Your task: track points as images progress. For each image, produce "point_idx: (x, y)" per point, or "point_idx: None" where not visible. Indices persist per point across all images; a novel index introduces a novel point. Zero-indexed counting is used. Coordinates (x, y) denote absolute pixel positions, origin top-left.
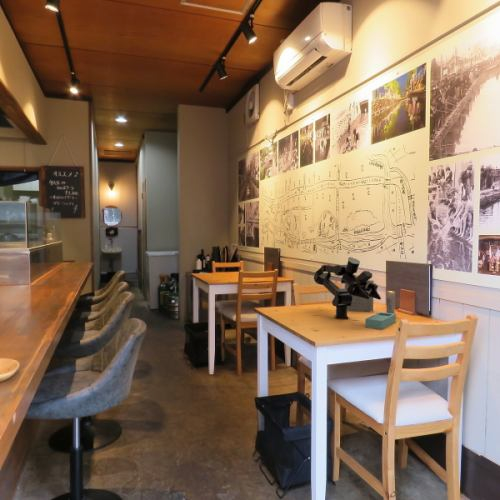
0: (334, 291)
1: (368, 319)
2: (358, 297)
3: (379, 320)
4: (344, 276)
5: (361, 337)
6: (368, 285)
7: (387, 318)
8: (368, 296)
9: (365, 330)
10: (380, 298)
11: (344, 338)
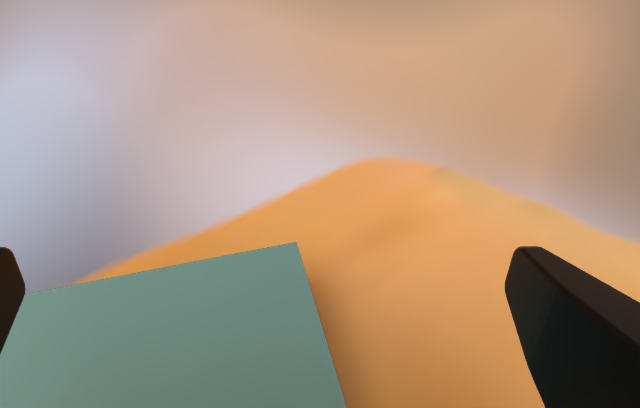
0: None
1: (344, 404)
2: None
3: (299, 272)
4: None
5: (609, 247)
6: None
7: (108, 279)
8: (544, 257)
9: (442, 358)
10: (13, 257)
11: None
